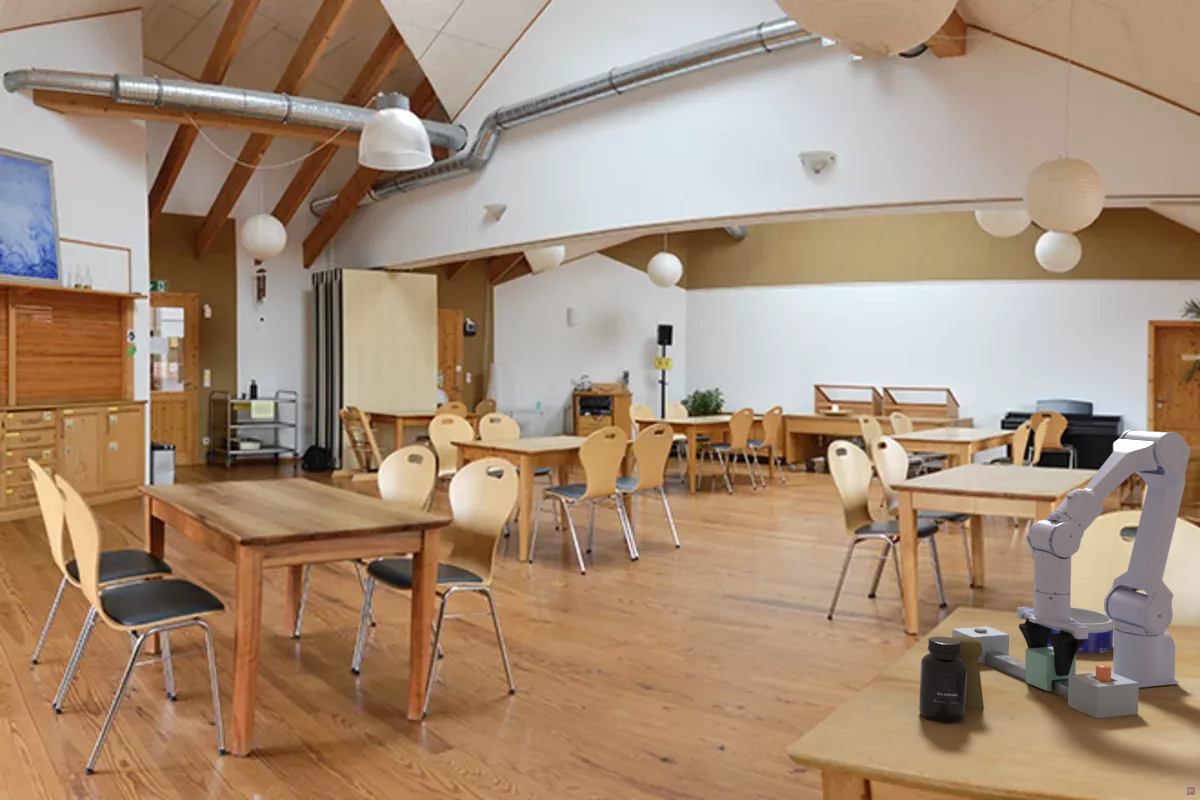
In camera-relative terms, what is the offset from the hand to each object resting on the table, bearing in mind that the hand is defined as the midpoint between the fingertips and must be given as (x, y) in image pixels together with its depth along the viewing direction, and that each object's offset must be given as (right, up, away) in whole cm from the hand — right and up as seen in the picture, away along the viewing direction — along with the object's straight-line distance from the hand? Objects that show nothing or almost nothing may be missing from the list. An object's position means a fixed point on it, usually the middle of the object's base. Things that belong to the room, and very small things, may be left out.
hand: (1050, 670), depth 164 cm
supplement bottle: (-24, -3, -15) cm, 28 cm away
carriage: (0, -3, 0) cm, 3 cm away
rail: (-1, -3, +3) cm, 5 cm away
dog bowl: (+18, -3, +29) cm, 34 cm away
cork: (-18, -3, -9) cm, 21 cm away
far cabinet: (-5, -3, +17) cm, 18 cm away
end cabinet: (+3, -3, -11) cm, 12 cm away
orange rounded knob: (+3, 0, -11) cm, 11 cm away
